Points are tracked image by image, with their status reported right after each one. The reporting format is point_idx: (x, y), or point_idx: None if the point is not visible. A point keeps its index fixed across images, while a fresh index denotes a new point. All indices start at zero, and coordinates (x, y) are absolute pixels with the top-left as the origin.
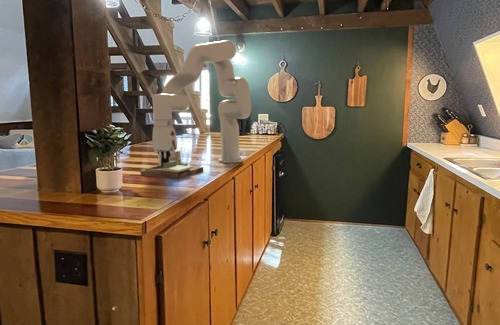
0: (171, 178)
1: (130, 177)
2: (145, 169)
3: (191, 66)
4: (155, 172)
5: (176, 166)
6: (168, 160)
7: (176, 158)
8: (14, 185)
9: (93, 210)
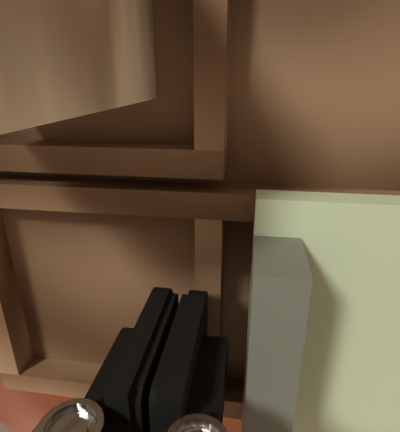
0: None
1: (14, 414)
2: (13, 381)
3: None
4: None
5: (353, 306)
6: (222, 400)
7: (91, 12)
8: None
9: None
